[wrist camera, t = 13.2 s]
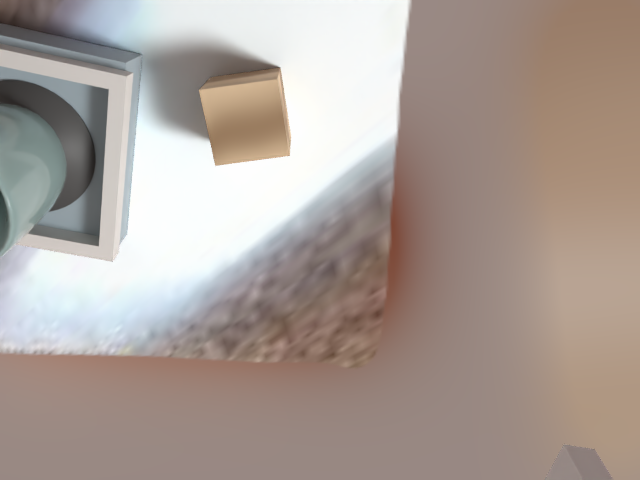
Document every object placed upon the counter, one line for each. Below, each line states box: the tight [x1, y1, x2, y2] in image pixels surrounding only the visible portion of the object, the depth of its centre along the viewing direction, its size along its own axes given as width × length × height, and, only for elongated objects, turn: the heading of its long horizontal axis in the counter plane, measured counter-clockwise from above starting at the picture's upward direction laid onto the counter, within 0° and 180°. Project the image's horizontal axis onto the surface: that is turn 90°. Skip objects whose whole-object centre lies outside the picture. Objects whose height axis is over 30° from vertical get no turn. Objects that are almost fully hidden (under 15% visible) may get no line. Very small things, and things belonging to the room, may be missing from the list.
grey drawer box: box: [0, 23, 142, 262], centre depth 39 cm, size 15×13×6 cm
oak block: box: [199, 68, 291, 166], centre depth 38 cm, size 5×5×5 cm
